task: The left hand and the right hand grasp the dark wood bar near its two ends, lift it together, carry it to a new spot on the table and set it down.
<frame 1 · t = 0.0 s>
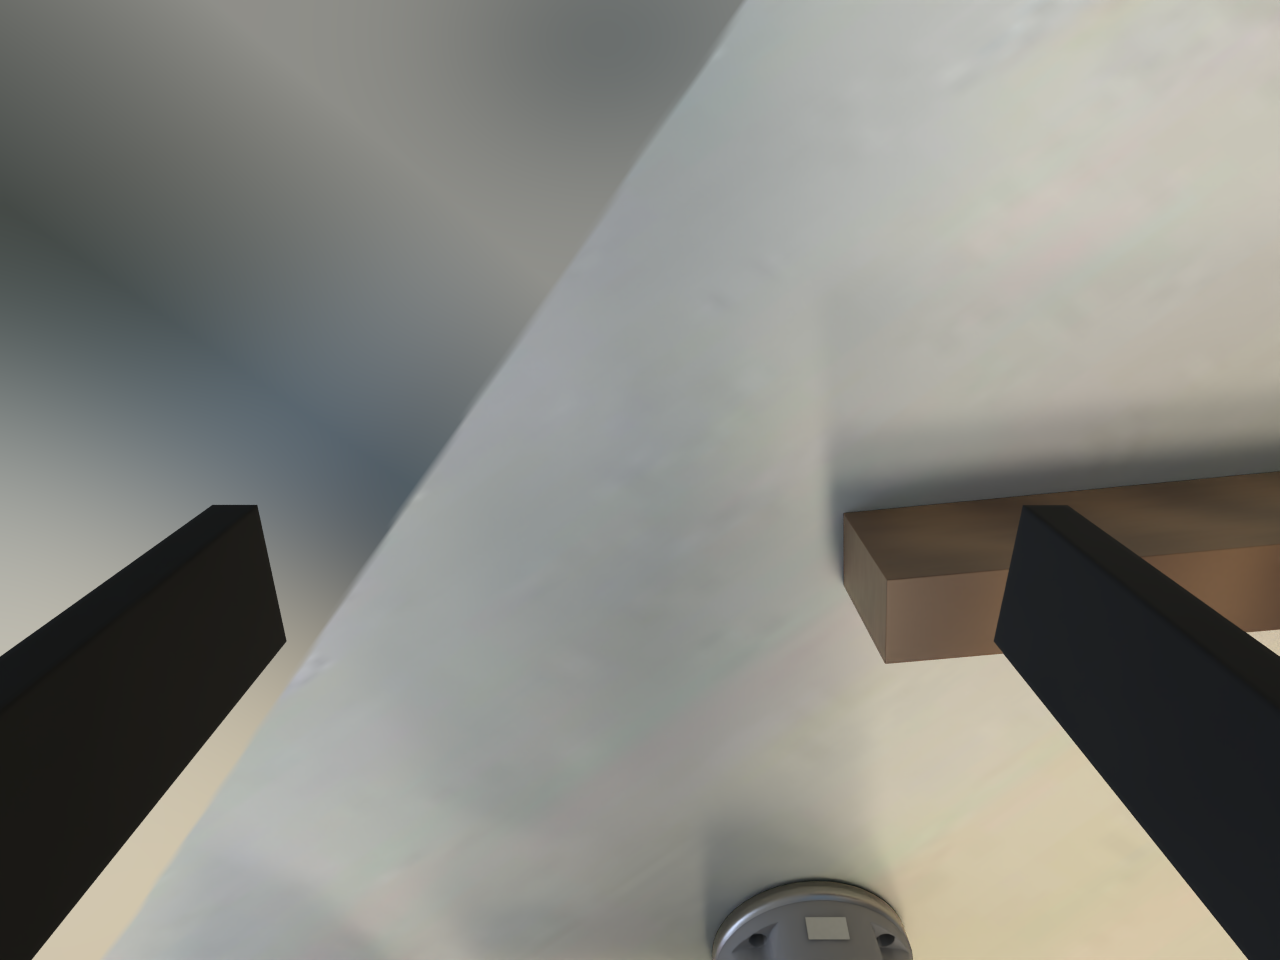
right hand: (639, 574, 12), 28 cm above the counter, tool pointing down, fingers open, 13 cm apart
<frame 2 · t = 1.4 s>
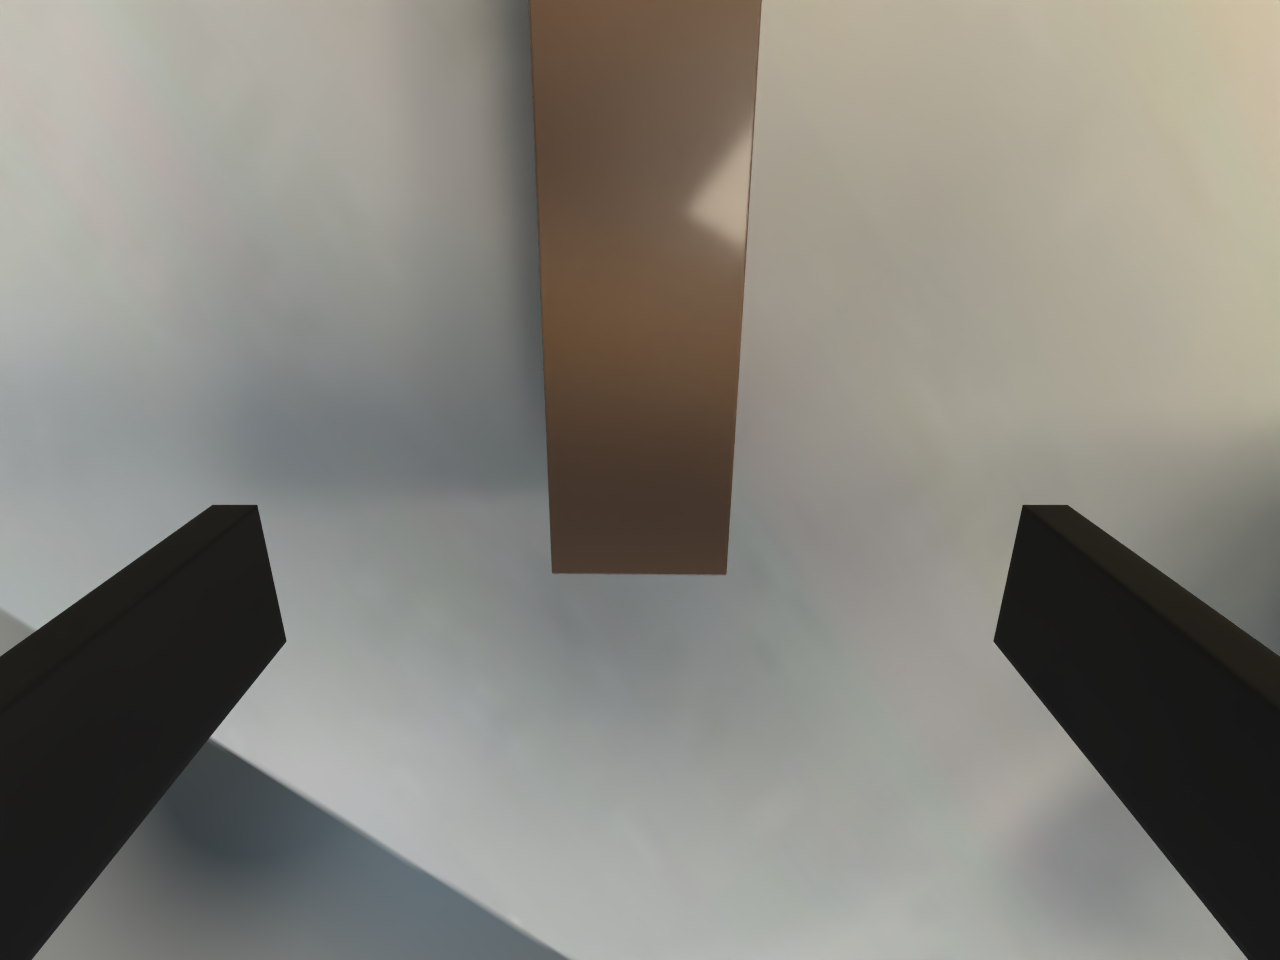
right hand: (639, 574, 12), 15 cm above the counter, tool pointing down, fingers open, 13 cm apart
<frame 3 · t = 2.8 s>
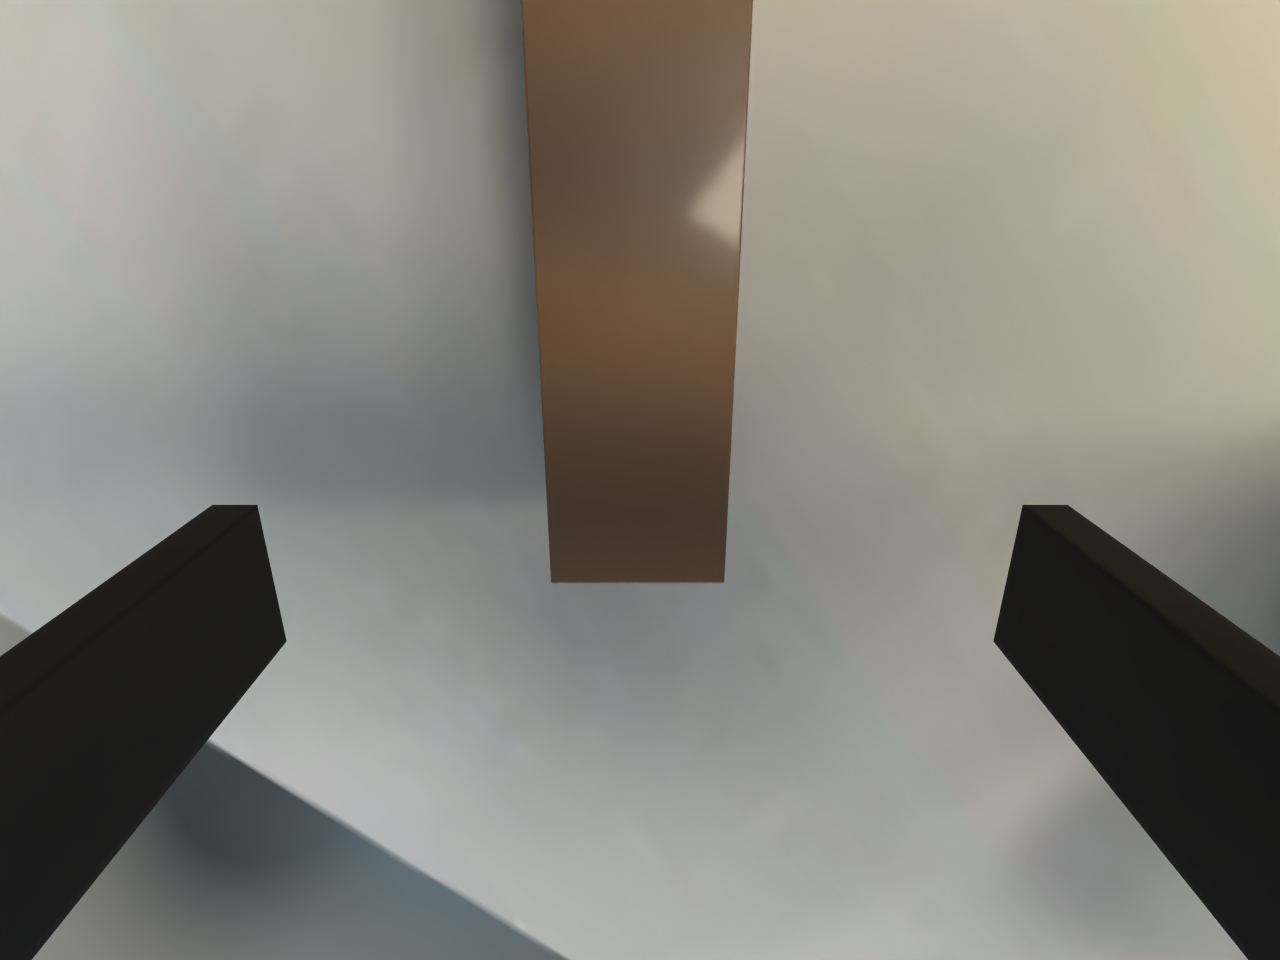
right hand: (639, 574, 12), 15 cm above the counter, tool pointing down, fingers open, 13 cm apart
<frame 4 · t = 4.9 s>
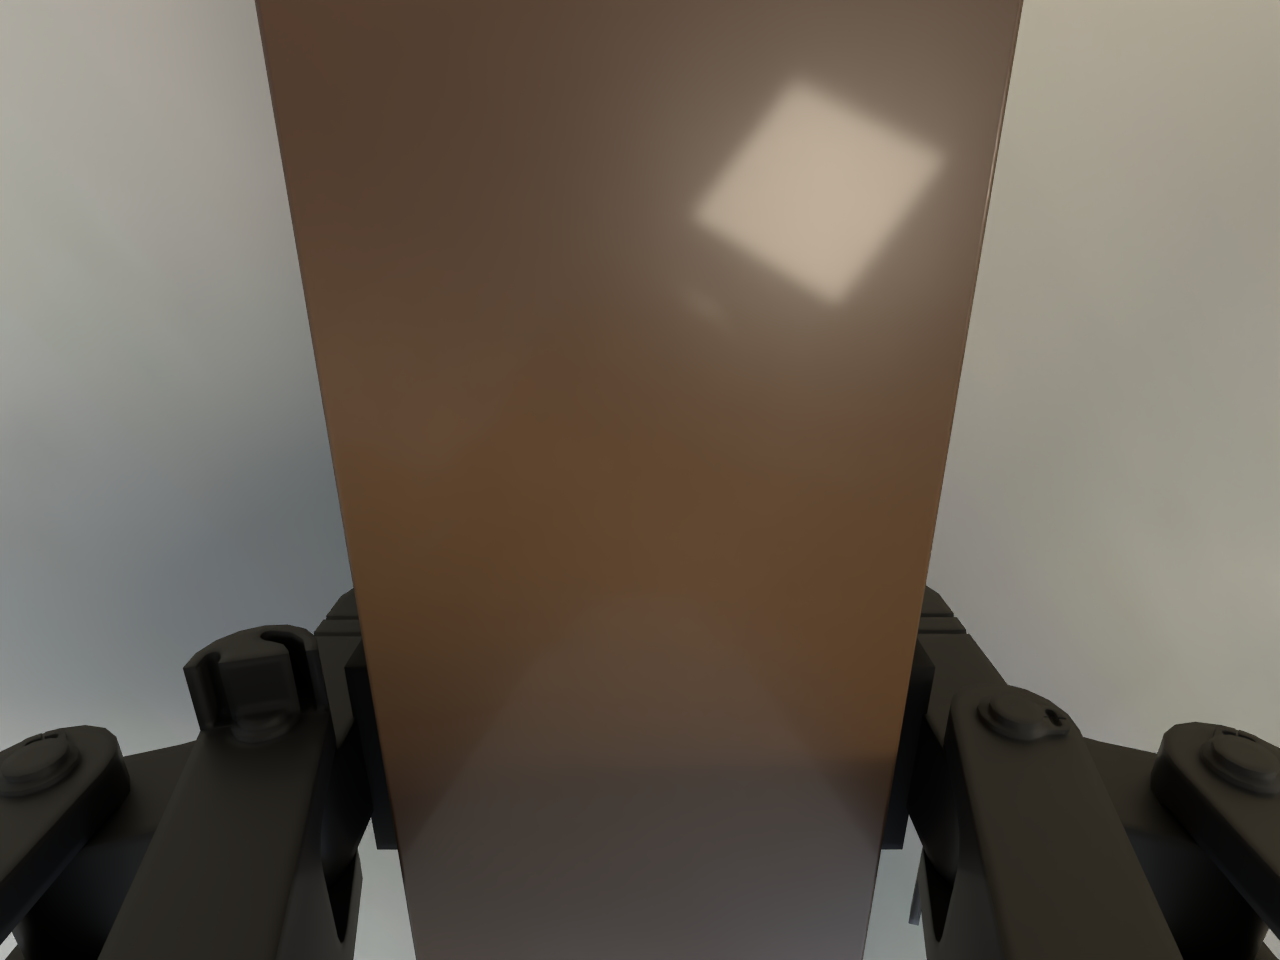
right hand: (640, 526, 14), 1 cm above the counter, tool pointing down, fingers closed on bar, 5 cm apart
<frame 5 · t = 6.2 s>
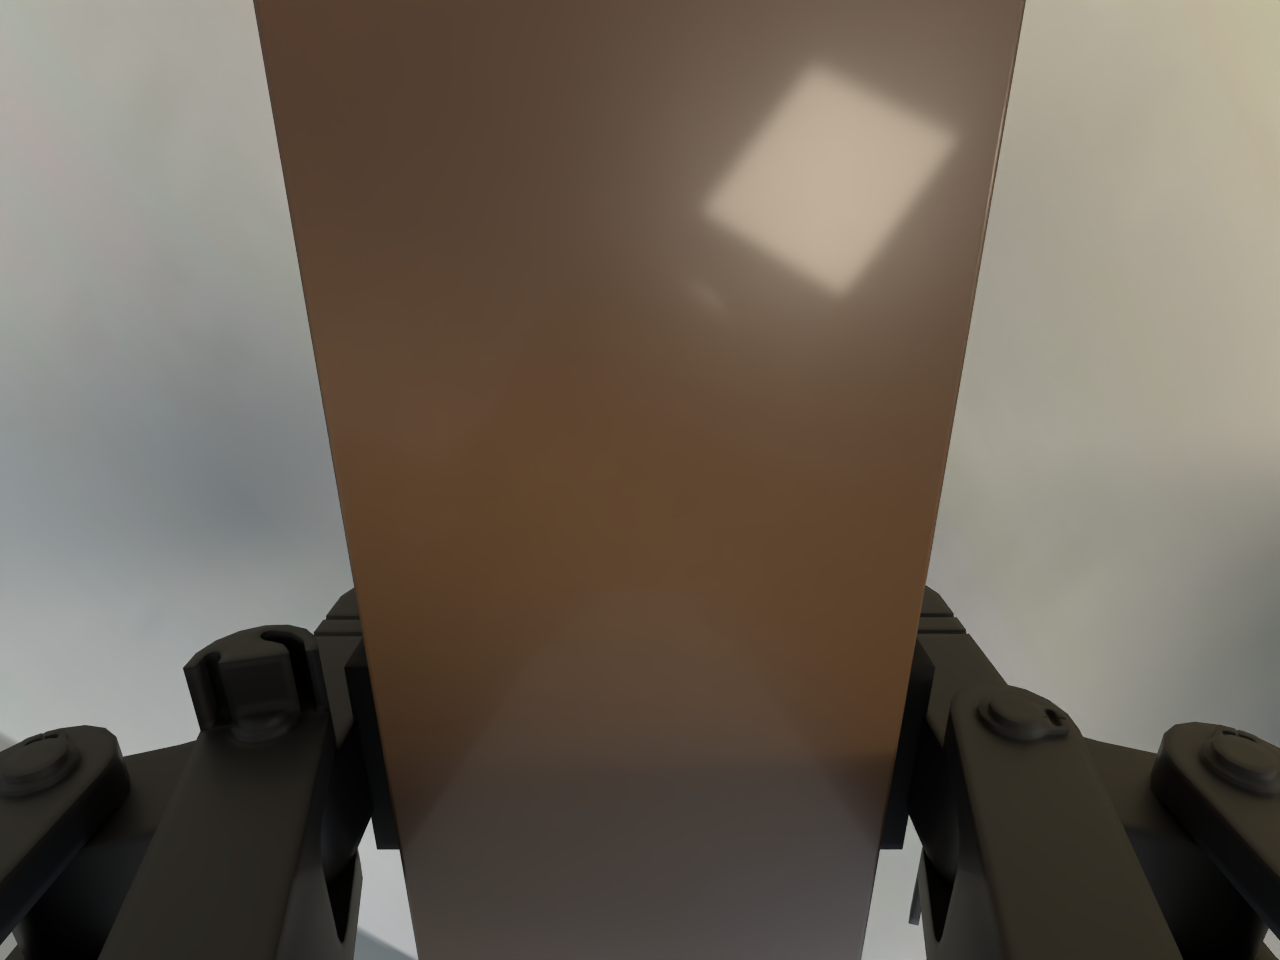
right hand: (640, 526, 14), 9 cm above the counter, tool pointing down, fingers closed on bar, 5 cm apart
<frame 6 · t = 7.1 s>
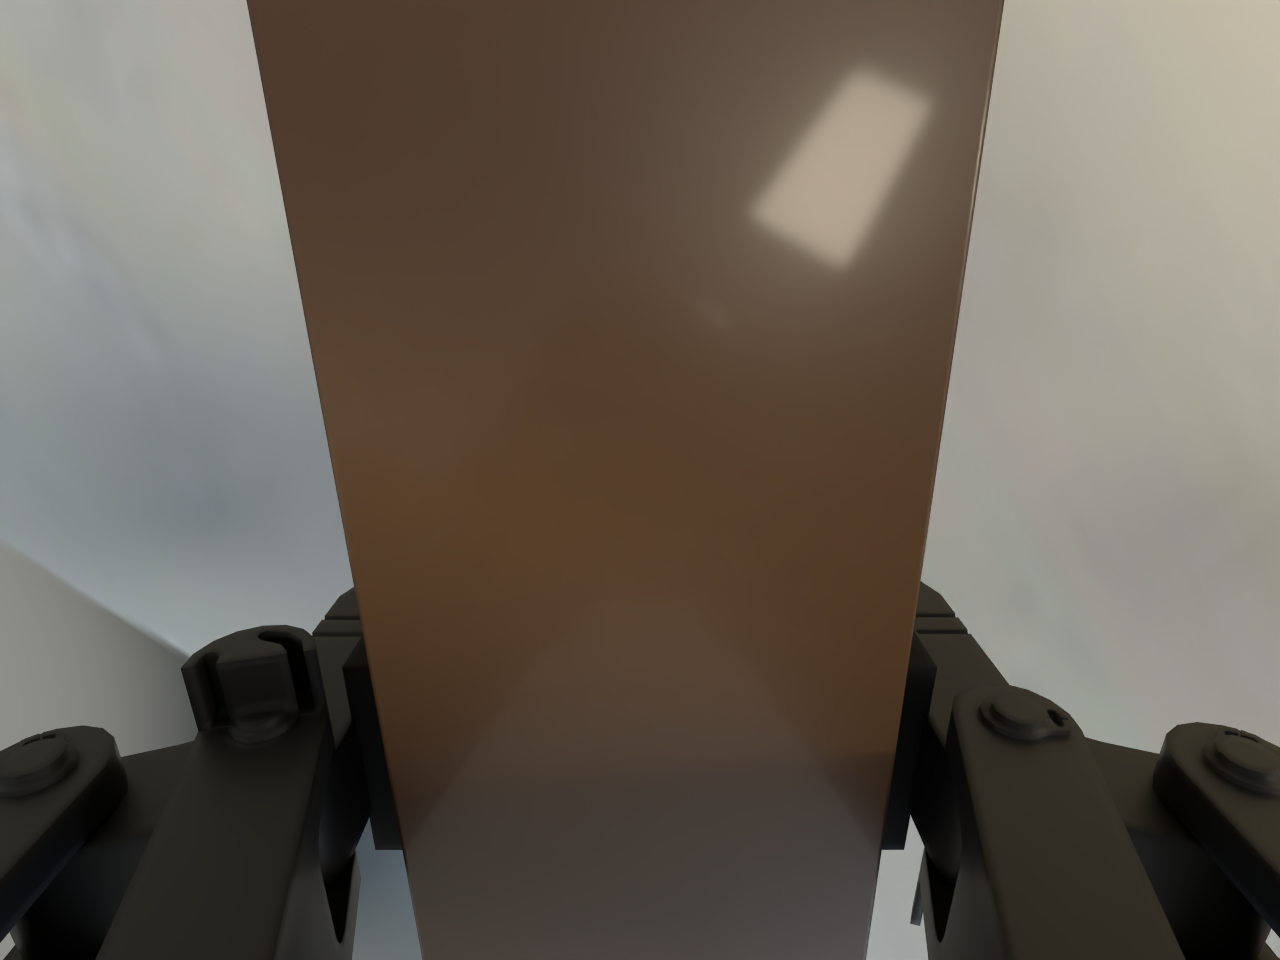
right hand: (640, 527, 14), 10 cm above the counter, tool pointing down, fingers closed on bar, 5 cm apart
when the right hand's fingers open (2 cm above the counter, at t = 9.3 s): bar stays where it is, on the counter.
when the left hand's fingers open (4 cm above the counter, at t = 9.5 s): bar stays where it is, on the counter.
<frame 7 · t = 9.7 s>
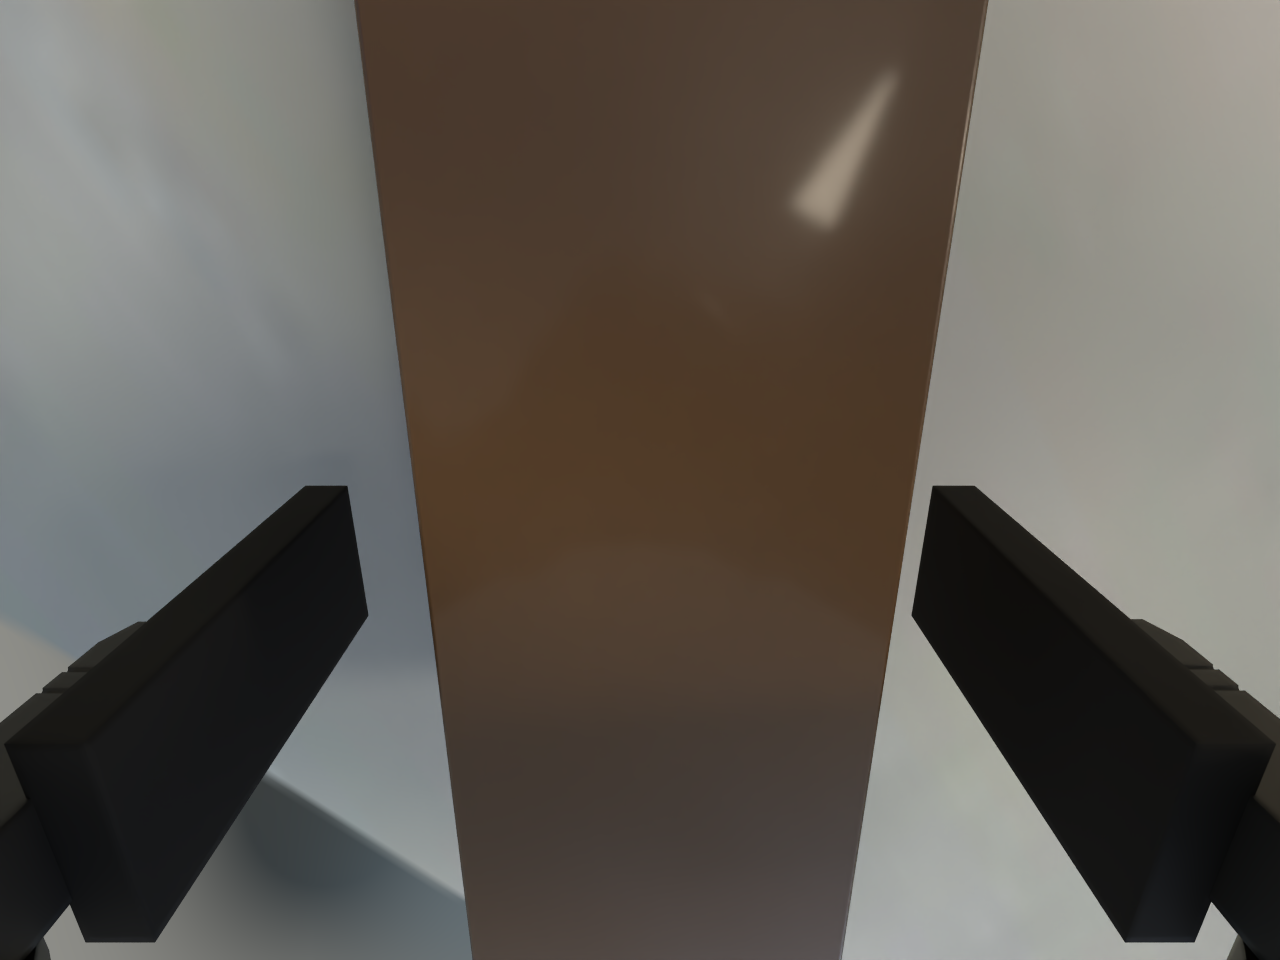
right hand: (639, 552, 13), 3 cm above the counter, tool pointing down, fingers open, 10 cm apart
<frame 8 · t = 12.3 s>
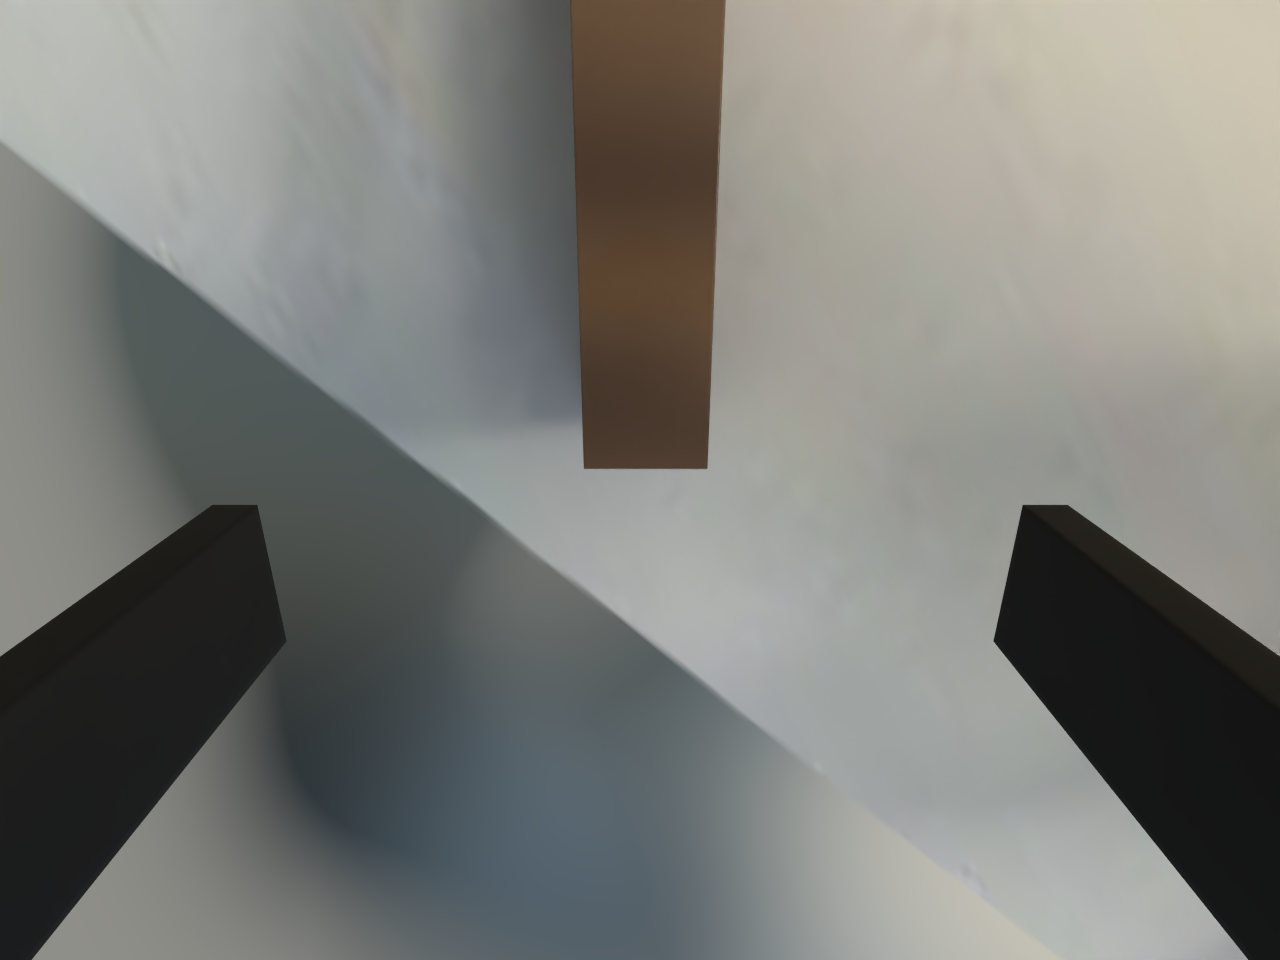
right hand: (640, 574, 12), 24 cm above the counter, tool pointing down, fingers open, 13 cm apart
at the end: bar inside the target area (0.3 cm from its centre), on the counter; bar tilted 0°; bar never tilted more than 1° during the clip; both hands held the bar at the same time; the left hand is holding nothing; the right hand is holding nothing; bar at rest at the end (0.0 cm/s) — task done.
